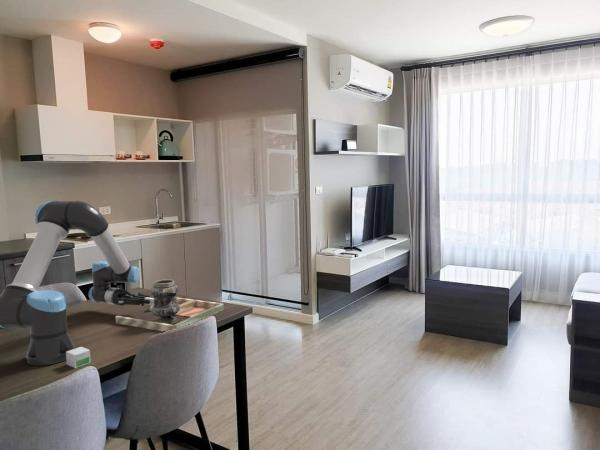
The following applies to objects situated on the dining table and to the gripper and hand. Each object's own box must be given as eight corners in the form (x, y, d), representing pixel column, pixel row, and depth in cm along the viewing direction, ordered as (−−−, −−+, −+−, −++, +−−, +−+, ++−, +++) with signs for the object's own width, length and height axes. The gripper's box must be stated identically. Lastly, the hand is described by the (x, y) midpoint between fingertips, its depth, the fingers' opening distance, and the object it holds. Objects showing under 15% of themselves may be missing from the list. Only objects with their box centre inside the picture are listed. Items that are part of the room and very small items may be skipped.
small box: (75, 369, 155) (74, 355, 154) (66, 365, 158) (65, 351, 158) (91, 363, 160) (90, 349, 159) (82, 359, 163) (81, 346, 162)
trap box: (115, 323, 201) (115, 316, 201) (170, 302, 232) (169, 296, 231) (174, 333, 187) (174, 326, 187) (223, 309, 218) (223, 303, 217)
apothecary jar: (175, 315, 210) (173, 276, 208) (184, 322, 200) (182, 281, 198) (148, 320, 204) (146, 280, 201) (156, 328, 193) (154, 286, 191)
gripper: (128, 300, 221) (167, 306, 210) (106, 308, 209) (146, 314, 199) (127, 285, 220) (166, 290, 210) (105, 292, 208) (145, 297, 198)
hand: (156, 302), depth 204 cm, fingers closed
